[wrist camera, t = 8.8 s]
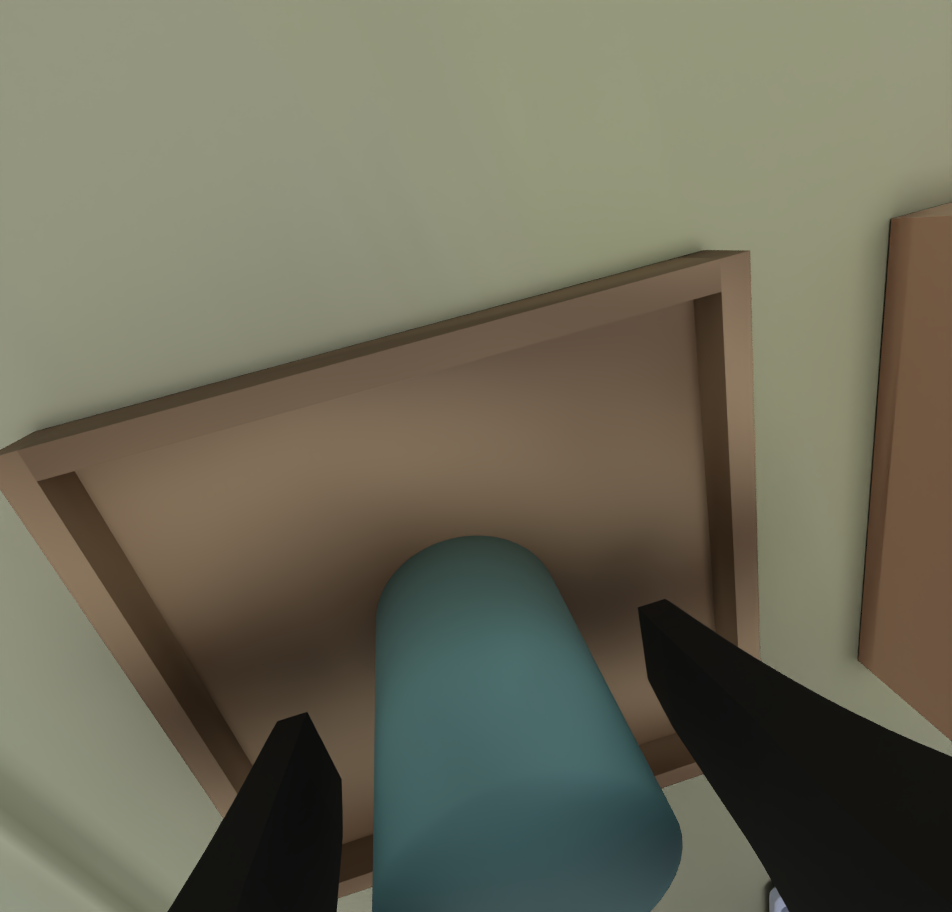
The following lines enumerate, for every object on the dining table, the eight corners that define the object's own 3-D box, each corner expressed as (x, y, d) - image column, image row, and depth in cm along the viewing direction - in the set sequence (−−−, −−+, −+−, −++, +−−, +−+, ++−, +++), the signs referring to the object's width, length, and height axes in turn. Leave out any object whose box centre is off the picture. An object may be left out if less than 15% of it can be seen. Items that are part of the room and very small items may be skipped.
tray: (730, 712, 17) (762, 753, 15) (297, 856, 16) (289, 915, 14) (704, 250, 11) (750, 250, 10) (34, 431, 10) (-20, 460, 9)
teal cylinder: (570, 655, 14) (692, 920, 8) (406, 707, 14) (423, 1017, 8) (538, 512, 12) (668, 730, 7) (349, 569, 12) (323, 844, 6)
